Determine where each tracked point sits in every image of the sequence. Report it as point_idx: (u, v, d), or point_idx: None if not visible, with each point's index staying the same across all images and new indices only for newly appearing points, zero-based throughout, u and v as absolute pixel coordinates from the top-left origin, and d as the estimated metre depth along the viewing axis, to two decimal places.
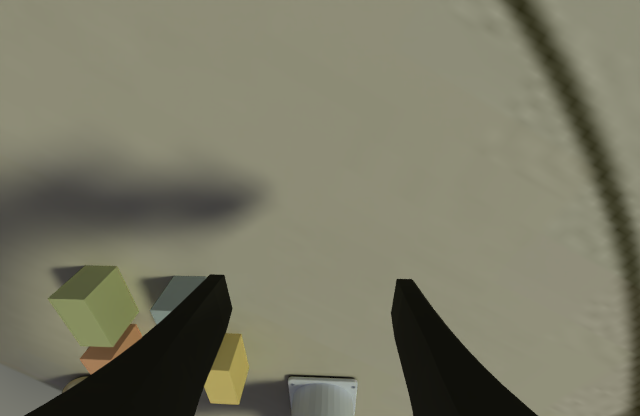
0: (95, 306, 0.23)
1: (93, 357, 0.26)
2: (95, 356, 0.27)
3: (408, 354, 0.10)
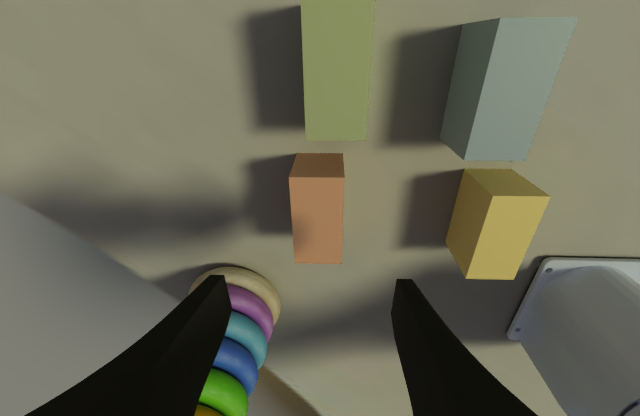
0: (372, 29, 0.12)
1: (312, 176, 0.15)
2: (312, 174, 0.15)
3: (408, 354, 0.10)
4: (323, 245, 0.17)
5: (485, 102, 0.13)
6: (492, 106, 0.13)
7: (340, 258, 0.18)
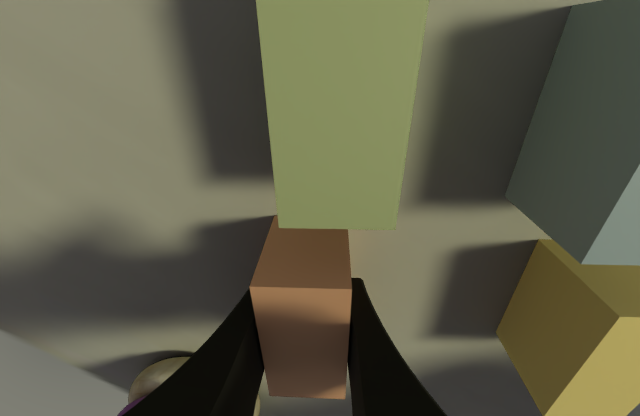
0: None
1: (293, 283, 0.08)
2: (293, 279, 0.09)
3: (349, 352, 0.10)
4: (315, 376, 0.10)
5: None
6: None
7: (343, 392, 0.11)
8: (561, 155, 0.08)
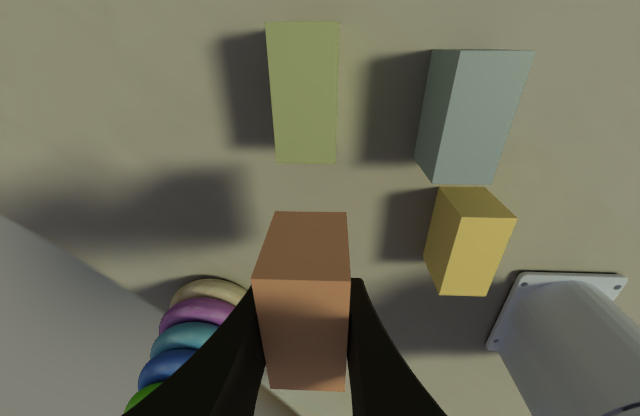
0: None
1: (293, 275, 0.09)
2: (293, 272, 0.09)
3: (349, 352, 0.10)
4: (315, 369, 0.11)
5: (449, 129, 0.13)
6: (457, 133, 0.13)
7: (342, 385, 0.11)
8: (428, 128, 0.15)
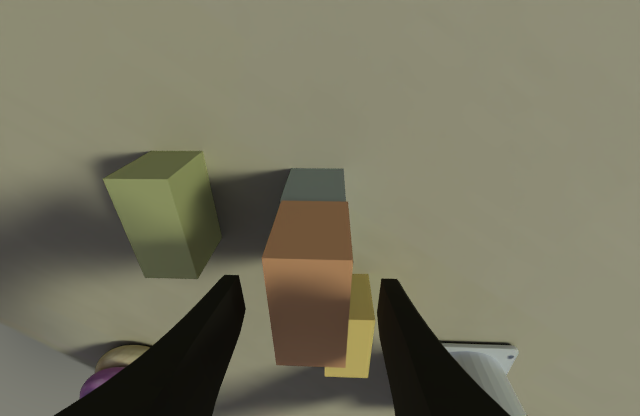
0: (179, 200, 0.14)
1: (300, 255, 0.09)
2: (300, 252, 0.10)
3: (390, 354, 0.10)
4: (319, 345, 0.11)
5: None
6: None
7: (343, 361, 0.12)
8: None
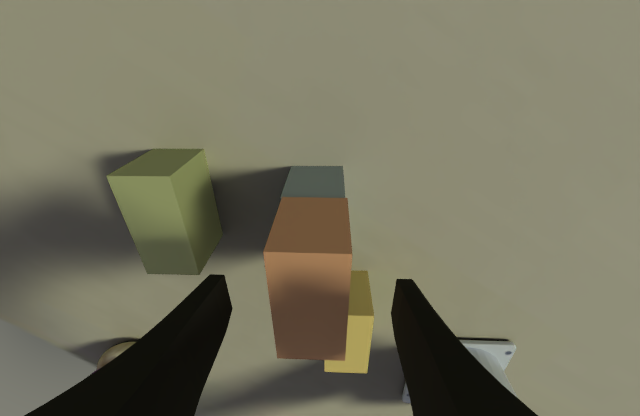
0: (181, 197, 0.14)
1: (301, 249, 0.10)
2: (300, 246, 0.10)
3: (408, 354, 0.10)
4: (319, 338, 0.12)
5: None
6: None
7: (343, 354, 0.12)
8: None
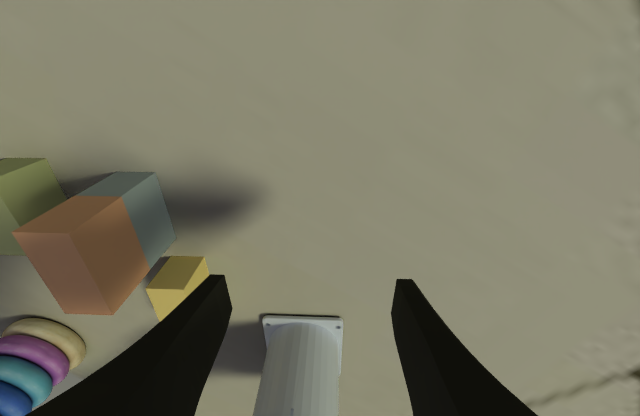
0: (8, 195, 0.18)
1: (38, 230, 0.14)
2: (41, 228, 0.14)
3: (408, 354, 0.10)
4: (84, 297, 0.16)
5: None
6: None
7: (108, 310, 0.17)
8: None
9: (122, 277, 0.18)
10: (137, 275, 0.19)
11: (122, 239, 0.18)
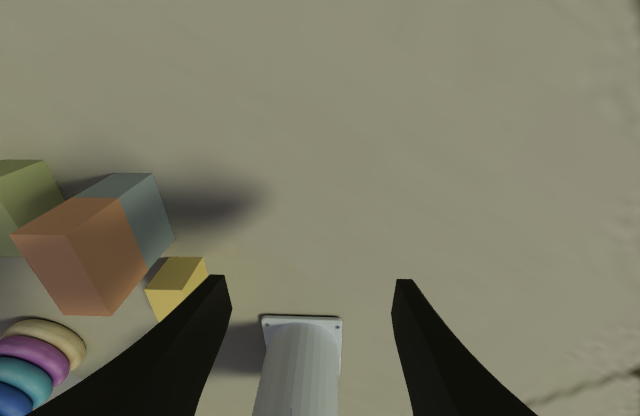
0: (6, 197, 0.19)
1: (35, 233, 0.14)
2: (38, 231, 0.14)
3: (408, 354, 0.10)
4: (82, 298, 0.16)
5: None
6: None
7: (107, 311, 0.17)
8: None
9: (120, 278, 0.18)
10: (135, 276, 0.19)
11: (120, 240, 0.18)
